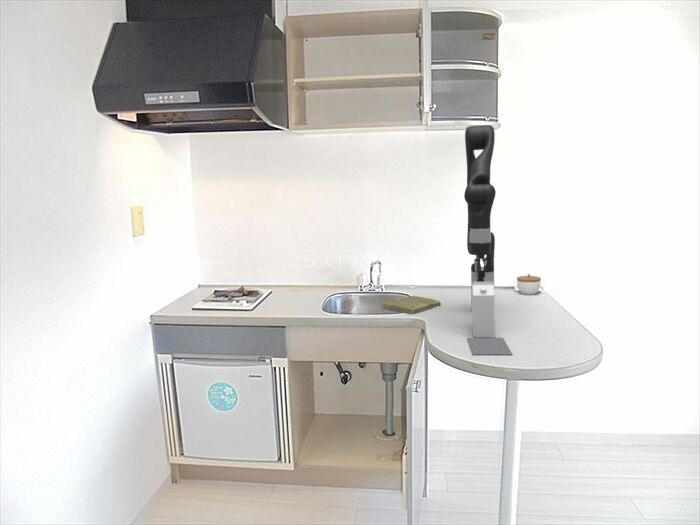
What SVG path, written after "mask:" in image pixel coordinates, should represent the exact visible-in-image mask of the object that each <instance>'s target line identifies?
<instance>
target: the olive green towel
mask: <svg viewBox="0 0 700 525" xmlns="http://www.w3.org/2000/svg"><path fill="white" fill-rule="evenodd" d="M440 305H442V304H441V301H440V300H439V299H434V298H429V297H423V296H417V295H413V296H412V295H411V296H407V297H404V298H403V297H400V298H398V299H394V298H393V299H390V300H388V301H385V302H382V303H381V310H387V311H389V312H395V313H400V314H407V315H415V314H419V313H422V312H425V311H430V310H432V308H433V309H435V308H434V307H436V308H438V307H437V306H439V307H441V306H440Z"/></svg>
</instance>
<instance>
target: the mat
mask: <svg viewBox="0 0 700 525" xmlns="http://www.w3.org/2000/svg"><path fill="white" fill-rule="evenodd" d="M466 340H467V343H468V346H469V349H470V351H471V355H472V356H513V353H512V351H511V350H510V348H509V346H508V344H507V343H506V340H505V339H504V337H466Z"/></svg>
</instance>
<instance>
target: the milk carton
mask: <svg viewBox="0 0 700 525" xmlns="http://www.w3.org/2000/svg"><path fill="white" fill-rule="evenodd" d="M495 296H496V295H495V281H494V282H472V311H471V325H472V326H471V331H472V338H496V336H495V332H496V330H495V328H496V327H495V324H496V321H495V320H496V319H495V318H496V317H495V313H496V312H495V308H496V307H495V305H496V304H495V301H496V300H495Z"/></svg>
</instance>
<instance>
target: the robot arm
mask: <svg viewBox="0 0 700 525" xmlns="http://www.w3.org/2000/svg"><path fill="white" fill-rule="evenodd" d="M464 135H465V136H464V142H465V156H466V187H465V191H464V196H463V197H464V201H465V202H466V203H467V233H466V234H467V236H466V237H467V238H466V242H467V244H466V248H467V253H468V254H469V255H471V256H475V259H474V260H473V263H472V264H471V266H470V276H471V277H470V280H471V282H470V283H471V284H470V285H471V286H470V288H471V290H470V292H471V300H470V302H471V304H470V305H471V307H470V308H471V311H470V312H472V282H494V283H495V247H496V246H495V245H496V244H495V243H496V239H495V238H496V237H495V234H494V233H493V232H491V214H492V209H493V204H494V201H495V199H496V188H495V187H494V185H493V184H491V164H492V159H493V155H494V149H495V135H496V133H495V129H494V127H493V126H492V125H490V124H485V125H484V124H481V125H470V126H467V127H466V128H465V132H464ZM475 151H481V152H480V154H478V155H477V157H476V155H475Z"/></svg>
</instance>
